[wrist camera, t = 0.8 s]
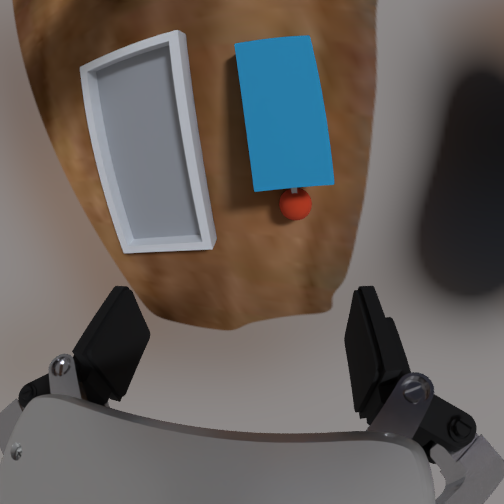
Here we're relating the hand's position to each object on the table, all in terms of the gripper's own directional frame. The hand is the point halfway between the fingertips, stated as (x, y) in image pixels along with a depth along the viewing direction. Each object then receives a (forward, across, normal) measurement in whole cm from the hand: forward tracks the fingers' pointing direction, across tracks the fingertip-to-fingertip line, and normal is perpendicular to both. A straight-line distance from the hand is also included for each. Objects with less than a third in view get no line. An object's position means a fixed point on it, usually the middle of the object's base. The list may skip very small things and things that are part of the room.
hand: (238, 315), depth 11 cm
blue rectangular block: (+21, -2, -5) cm, 21 cm away
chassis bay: (+20, +12, -4) cm, 24 cm away
